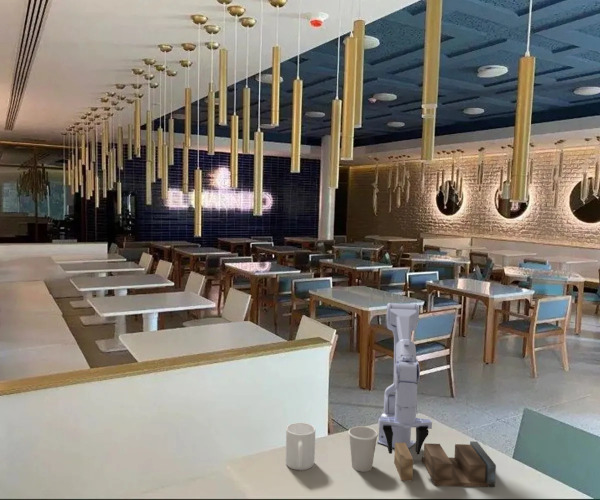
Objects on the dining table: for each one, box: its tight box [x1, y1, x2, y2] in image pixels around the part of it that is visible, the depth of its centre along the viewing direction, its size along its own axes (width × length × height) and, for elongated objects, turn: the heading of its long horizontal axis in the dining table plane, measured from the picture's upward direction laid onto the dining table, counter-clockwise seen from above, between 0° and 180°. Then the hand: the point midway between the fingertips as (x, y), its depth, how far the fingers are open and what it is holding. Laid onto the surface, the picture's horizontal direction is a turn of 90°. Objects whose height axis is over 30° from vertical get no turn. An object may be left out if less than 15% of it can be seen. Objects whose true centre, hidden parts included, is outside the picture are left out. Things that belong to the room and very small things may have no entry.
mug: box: [285, 422, 316, 471], centre depth 141 cm, size 12×8×10 cm
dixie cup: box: [347, 425, 379, 473], centre depth 142 cm, size 8×8×10 cm
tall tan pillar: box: [393, 443, 414, 482], centre depth 140 cm, size 3×10×6 cm, turn 0°
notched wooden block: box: [421, 440, 497, 488], centre depth 140 cm, size 16×14×6 cm
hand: (403, 452), depth 140 cm, fingers open, 7 cm apart
